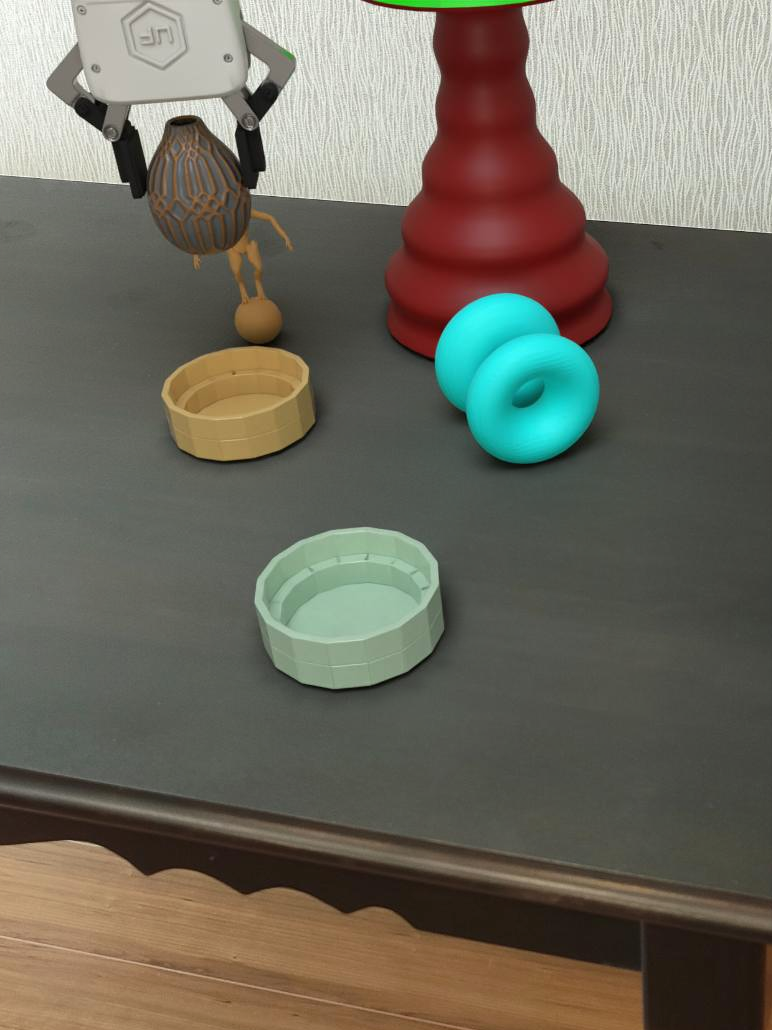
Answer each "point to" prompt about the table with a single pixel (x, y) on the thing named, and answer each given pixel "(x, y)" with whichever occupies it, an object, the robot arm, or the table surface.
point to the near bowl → (350, 607)
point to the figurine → (256, 314)
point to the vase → (197, 189)
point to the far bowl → (239, 403)
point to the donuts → (516, 378)
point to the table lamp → (490, 191)
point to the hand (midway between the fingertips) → (197, 184)
